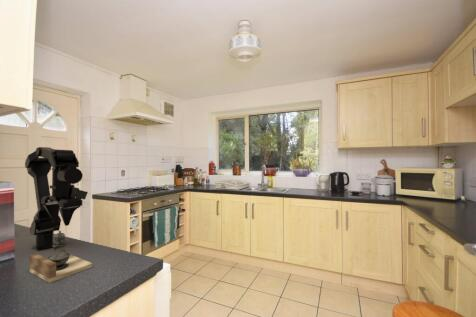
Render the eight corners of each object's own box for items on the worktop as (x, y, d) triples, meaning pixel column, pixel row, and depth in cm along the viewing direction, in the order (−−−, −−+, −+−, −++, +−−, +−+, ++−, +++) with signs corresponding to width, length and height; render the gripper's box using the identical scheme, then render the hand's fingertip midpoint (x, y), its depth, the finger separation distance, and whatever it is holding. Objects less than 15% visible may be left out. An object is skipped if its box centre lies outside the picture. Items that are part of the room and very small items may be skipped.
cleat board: (29, 271, 73) (29, 255, 73) (71, 258, 84) (71, 244, 84) (49, 283, 66) (49, 265, 67) (92, 266, 77) (92, 251, 77)
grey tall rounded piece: (44, 273, 70) (44, 233, 70) (51, 265, 75) (52, 228, 76) (67, 269, 72) (67, 231, 72) (72, 262, 78) (73, 227, 78)
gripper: (97, 182, 89) (96, 222, 88) (73, 180, 98) (72, 216, 98) (64, 184, 79) (63, 229, 79) (40, 182, 88) (40, 222, 88)
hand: (60, 223), depth 86 cm, fingers open, 9 cm apart
